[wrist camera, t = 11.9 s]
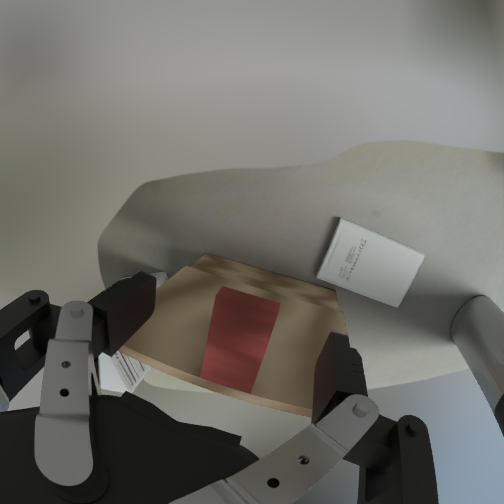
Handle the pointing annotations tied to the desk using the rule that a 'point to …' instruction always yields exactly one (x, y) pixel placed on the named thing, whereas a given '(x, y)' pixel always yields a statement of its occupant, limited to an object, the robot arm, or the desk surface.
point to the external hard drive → (369, 263)
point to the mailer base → (267, 281)
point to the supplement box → (124, 362)
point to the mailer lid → (236, 339)
